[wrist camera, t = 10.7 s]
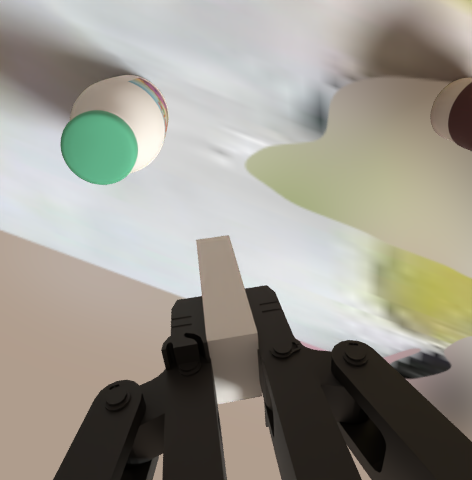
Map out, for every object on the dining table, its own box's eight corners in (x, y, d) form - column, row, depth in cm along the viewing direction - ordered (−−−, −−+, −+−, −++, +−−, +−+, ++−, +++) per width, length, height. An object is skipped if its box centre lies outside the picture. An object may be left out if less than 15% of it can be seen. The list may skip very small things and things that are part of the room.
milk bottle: (103, 147, 41) (45, 210, 23) (93, 73, 37) (15, 82, 20) (170, 146, 42) (164, 207, 24) (166, 75, 38) (155, 85, 21)
